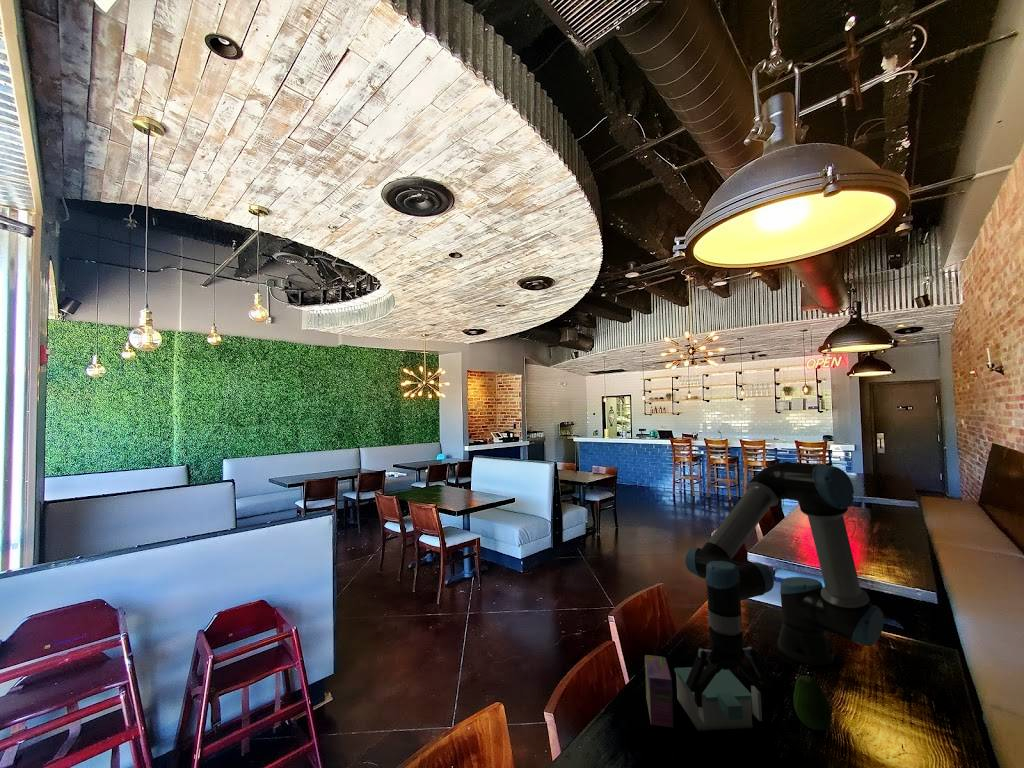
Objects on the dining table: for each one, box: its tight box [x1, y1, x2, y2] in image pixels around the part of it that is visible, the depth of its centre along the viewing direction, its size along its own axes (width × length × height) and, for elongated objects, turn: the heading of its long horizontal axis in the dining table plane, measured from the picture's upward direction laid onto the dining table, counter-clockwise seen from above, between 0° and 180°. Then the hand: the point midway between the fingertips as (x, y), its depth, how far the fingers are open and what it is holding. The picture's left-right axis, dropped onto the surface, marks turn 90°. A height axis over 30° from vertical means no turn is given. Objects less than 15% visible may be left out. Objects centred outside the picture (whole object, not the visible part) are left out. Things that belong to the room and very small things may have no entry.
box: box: [644, 654, 674, 728], centre depth 112 cm, size 10×6×12 cm, turn 168°
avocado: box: [792, 675, 832, 731], centre depth 106 cm, size 8×8×12 cm
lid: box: [674, 666, 752, 720], centre depth 110 cm, size 15×18×3 cm
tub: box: [675, 673, 753, 732], centre depth 112 cm, size 14×12×7 cm
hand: (730, 718), depth 103 cm, fingers open, 13 cm apart
